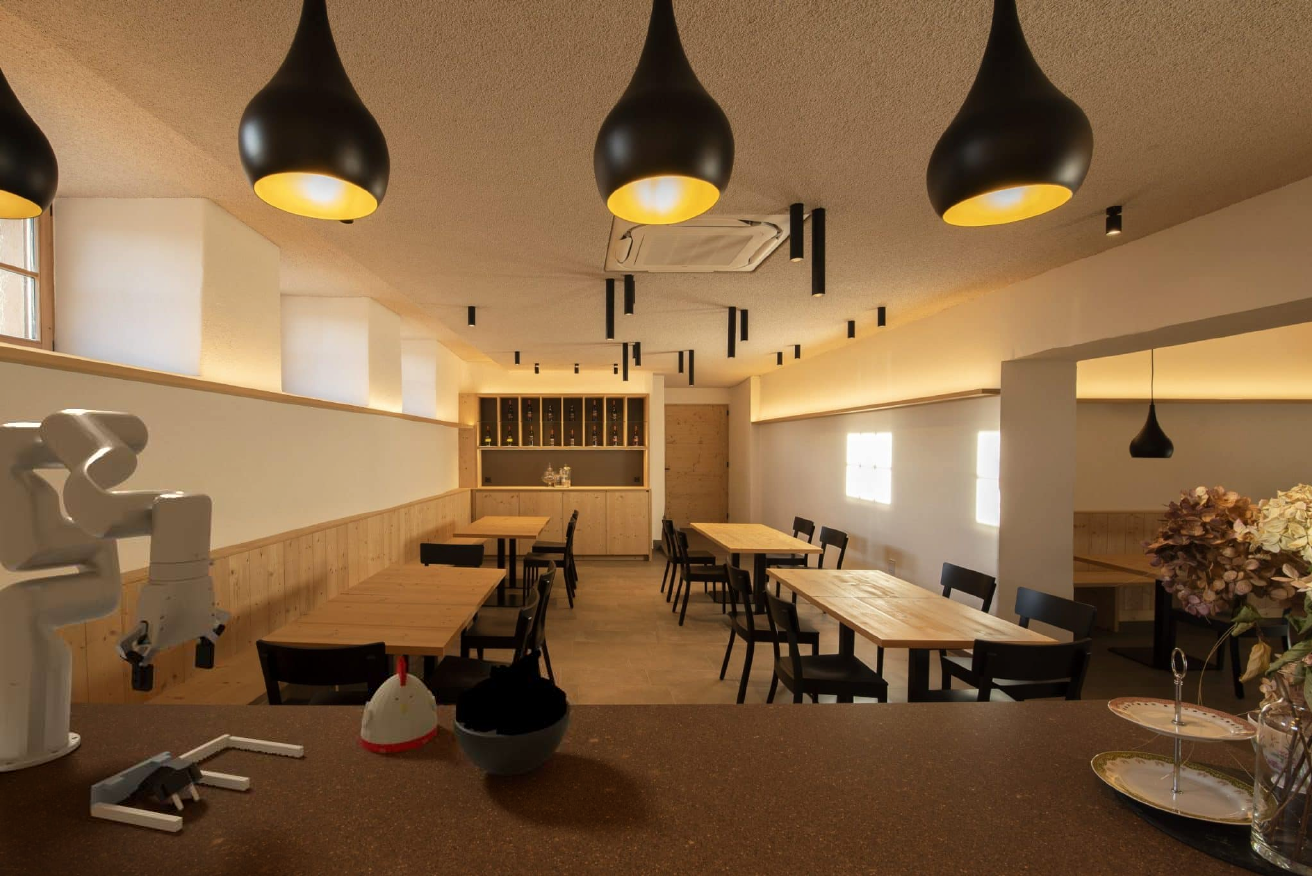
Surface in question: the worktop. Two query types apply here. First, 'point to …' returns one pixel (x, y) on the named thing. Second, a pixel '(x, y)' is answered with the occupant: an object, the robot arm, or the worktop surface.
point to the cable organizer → (129, 779)
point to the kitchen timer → (399, 714)
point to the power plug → (172, 781)
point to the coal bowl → (511, 719)
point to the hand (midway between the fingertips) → (174, 678)
